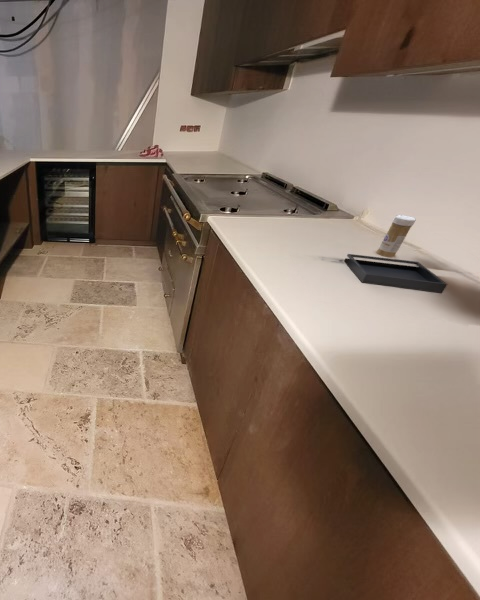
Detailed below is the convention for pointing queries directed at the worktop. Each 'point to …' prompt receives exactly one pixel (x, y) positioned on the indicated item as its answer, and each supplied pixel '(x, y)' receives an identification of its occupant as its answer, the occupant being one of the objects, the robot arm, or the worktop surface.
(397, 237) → the sprinkles bottle
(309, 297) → the worktop surface
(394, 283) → the tray
